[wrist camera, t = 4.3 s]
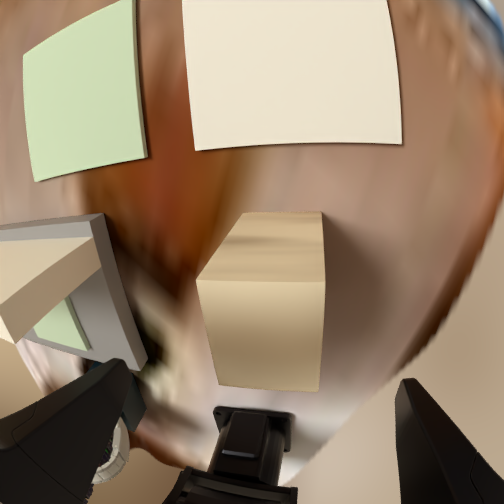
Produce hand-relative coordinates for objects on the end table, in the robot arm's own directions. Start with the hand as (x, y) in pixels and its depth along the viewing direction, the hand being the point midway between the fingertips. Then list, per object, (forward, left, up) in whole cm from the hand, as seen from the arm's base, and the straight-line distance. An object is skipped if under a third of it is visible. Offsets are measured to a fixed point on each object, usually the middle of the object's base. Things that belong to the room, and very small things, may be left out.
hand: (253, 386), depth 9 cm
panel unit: (-3, +19, -9) cm, 21 cm away
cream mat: (+11, -1, -9) cm, 14 cm away
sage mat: (+11, +12, -9) cm, 19 cm away
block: (0, 0, -9) cm, 9 cm away
